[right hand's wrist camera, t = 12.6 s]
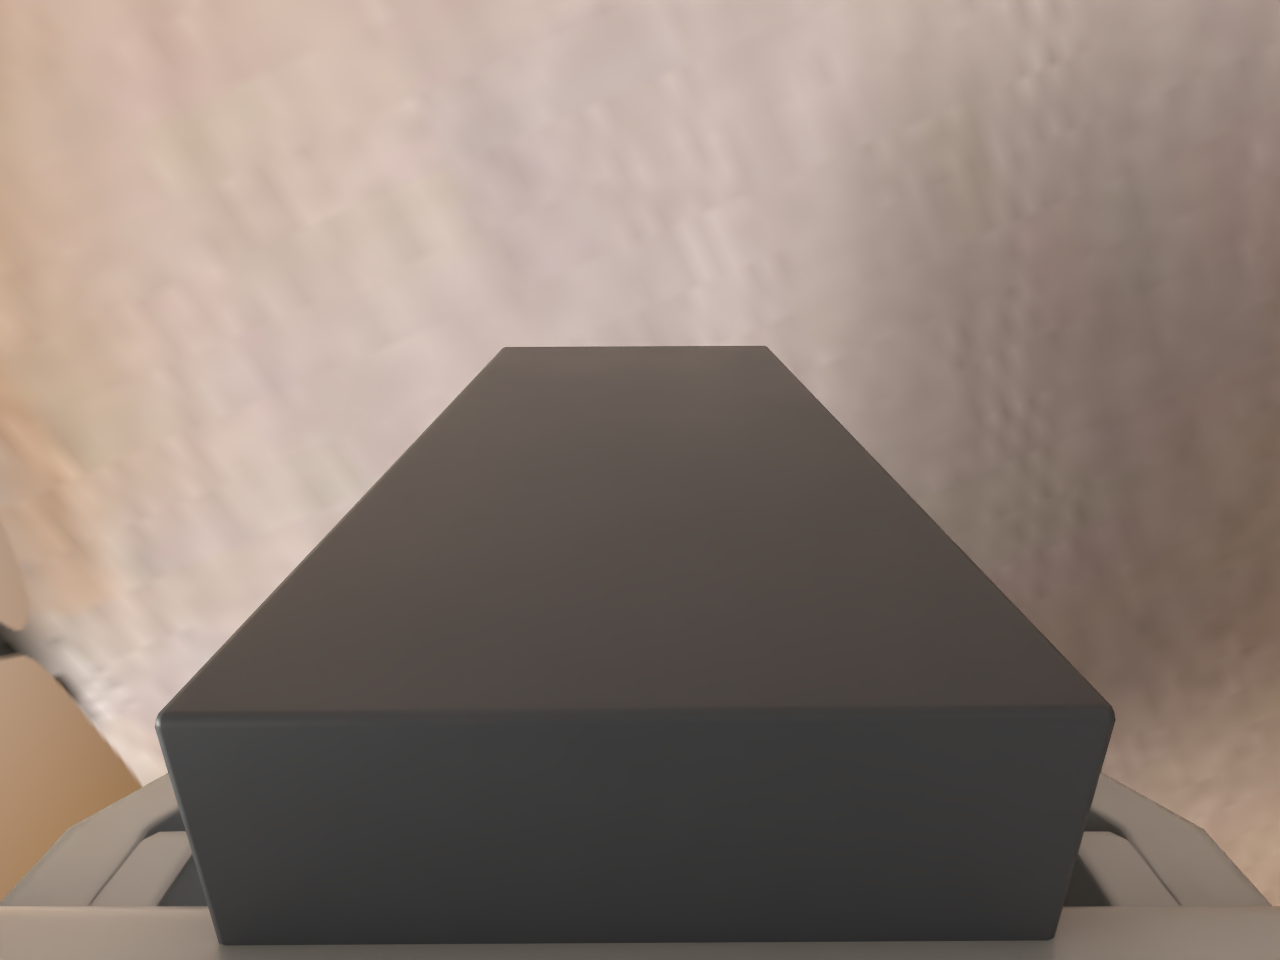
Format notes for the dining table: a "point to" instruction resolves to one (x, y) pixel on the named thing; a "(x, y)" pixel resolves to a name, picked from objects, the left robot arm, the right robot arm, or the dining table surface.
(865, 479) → the box
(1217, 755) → the dining table surface
